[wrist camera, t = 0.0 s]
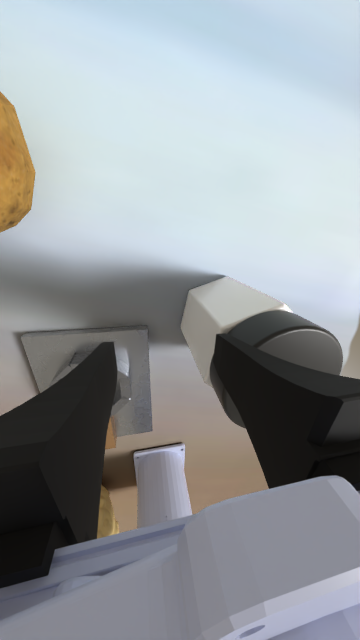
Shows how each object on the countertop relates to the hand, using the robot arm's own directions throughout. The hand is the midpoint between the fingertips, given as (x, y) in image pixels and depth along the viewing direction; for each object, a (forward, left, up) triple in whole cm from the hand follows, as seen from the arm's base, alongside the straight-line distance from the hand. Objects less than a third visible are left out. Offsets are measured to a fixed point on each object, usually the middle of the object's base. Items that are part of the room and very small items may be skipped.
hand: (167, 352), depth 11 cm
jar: (-2, -7, -10) cm, 13 cm away
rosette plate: (-11, +7, -10) cm, 17 cm away
